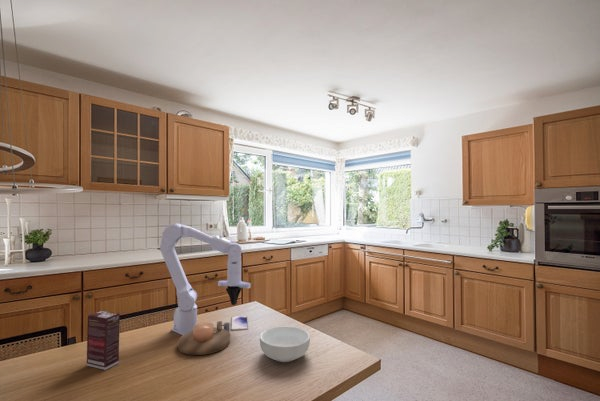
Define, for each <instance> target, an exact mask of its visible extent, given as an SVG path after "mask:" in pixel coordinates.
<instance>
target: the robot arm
mask: <svg viewBox="0 0 600 401" xmlns="http://www.w3.org/2000/svg"><path fill="white" fill-rule="evenodd" d="M181 238H182V239H184V238H185V239H186V238H192V239H195V240H198V241H201V242H204V243H205V244H208V245H209V247H210V248H211V249H212V250H214V251H217V252H219V253H221V254H224V255H225V254H226V255H227V271H226V272H227V276H226V278H227V279H226V280H219V281H217V286H218V287H226V289H225V291H226V293H227V294H228V296H229V300H230V305H231V306H235V305H237V303H238V299H239V296H240V293H241V291H242V289H246V290H247V289H248V290H249V289H251V287H252V286H251V285H252V283H251V282H246V281H242V256H241V255H242V251H243V250H242V247H241V245H240V244H239V243H238V242H236V241H235V242H234V240H229V239H226V238H224V237H223V235H220V234H219V235H214V236H211V235H209V234H206V233H205V232H203V231H201V230H199V229H196V228H194V227H192V226H189V225H186V224H182V223H180V222H175V223H171V224H168V225H167V226H166V227H165V229H164V230H163V232H162V234H161V241H160V247H159V249H160V253H161V255H162V257H163V260H164V262H165V264H166V267H167V270H168V272H169V275H170V277H171V279H172V282H173V284H174V286H175V290H176V297H177V306H178V307H176V309H175V310H174V311H173V312H174V313H173V328H171V331H172V332H174V333H177V334H179V335H181V336H183V335H184V334H186V333H188V332H190V331H193V327H194V326H195V325H197V324H198V305H197V304H196V301H197V299H198V293H197V291H196V290H194V288H193V287H192V284H190V283H189V280H188V278H187V276H186V273H185V271H184V269H183V265H182V263H181V261H180V259H179V256H178V254H177V251H176V248H175V247H176V245H177V244H178V242H179V240H180V239H181Z"/></svg>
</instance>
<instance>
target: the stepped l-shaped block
mask: <svg viewBox="0 0 600 401" xmlns="http://www.w3.org/2000/svg"><path fill="white" fill-rule="evenodd" d="M222 327H223V329H225V330H227V331H228V332H229V333H230V331H231V323H230V322H224V323H223V324H222Z"/></svg>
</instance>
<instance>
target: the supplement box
mask: <svg viewBox="0 0 600 401" xmlns="http://www.w3.org/2000/svg"><path fill="white" fill-rule="evenodd" d="M120 318H121V317H120V313H116V312H111V311H104V310H100V311H96V312H93V313H90V314H88V315H87V330H86V332H87V333H86V334H87V337H86V338H87V339H86V341H87V343H86V366H87V367H92V368H96V369H100V370H104V371H106V370H108V369H110V368H112V367H115V366H116V365H118V364H119V361H120V360H119V358H120V322H121V321H120Z"/></svg>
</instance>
